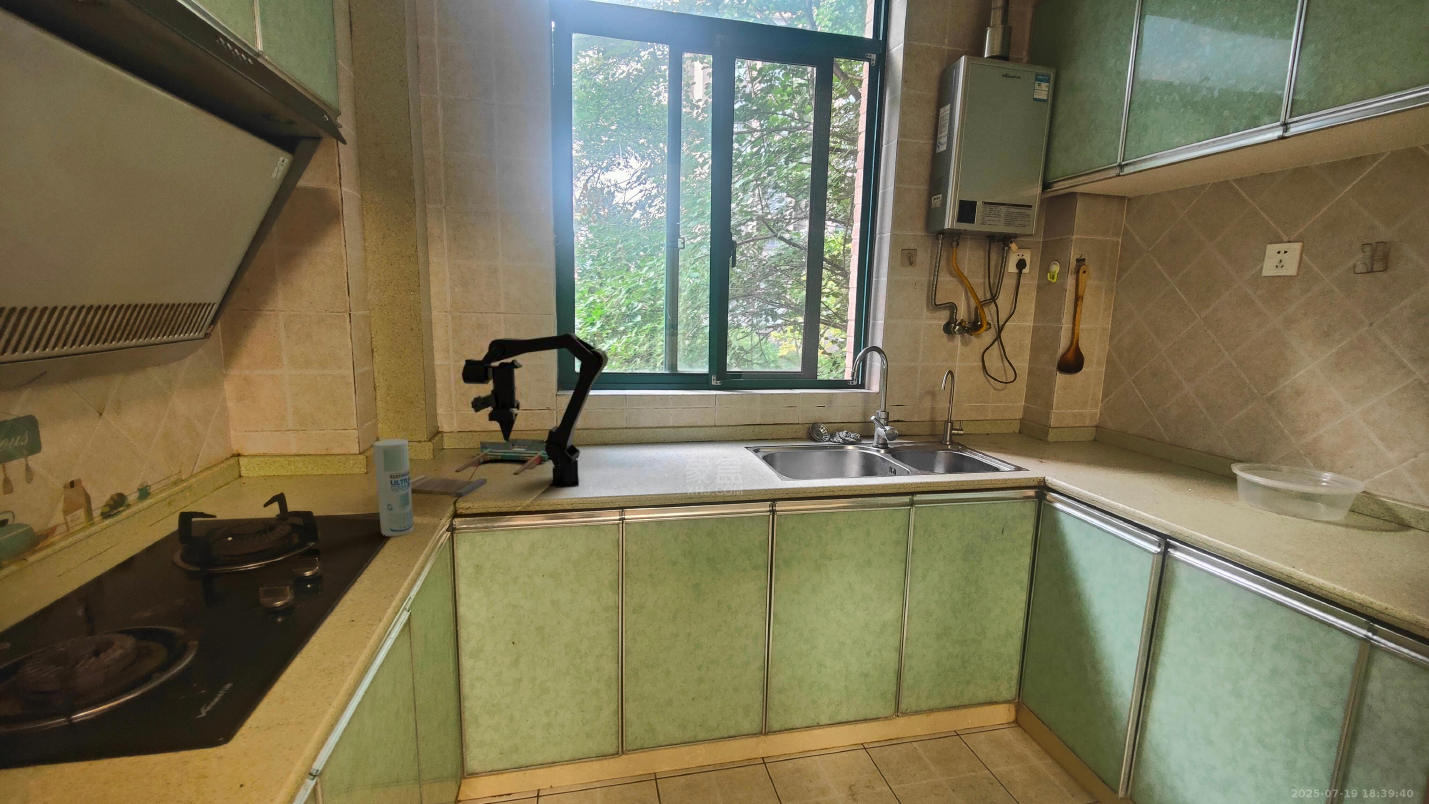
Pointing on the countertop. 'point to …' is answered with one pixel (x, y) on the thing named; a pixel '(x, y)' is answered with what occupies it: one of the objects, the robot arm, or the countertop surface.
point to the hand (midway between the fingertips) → (506, 440)
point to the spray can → (393, 486)
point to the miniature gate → (511, 453)
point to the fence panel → (437, 485)
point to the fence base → (470, 487)
